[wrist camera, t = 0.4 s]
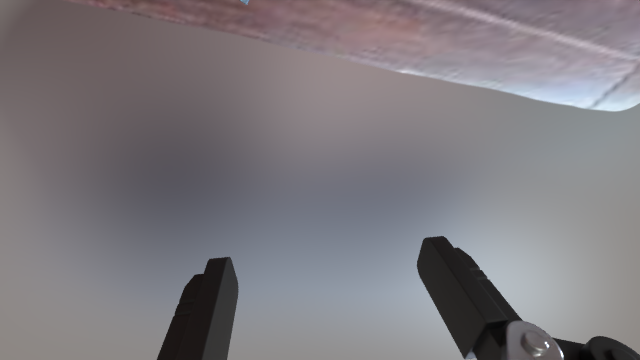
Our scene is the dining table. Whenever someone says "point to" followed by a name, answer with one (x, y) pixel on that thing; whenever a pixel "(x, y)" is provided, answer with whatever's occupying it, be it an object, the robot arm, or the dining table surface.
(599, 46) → the dining table surface
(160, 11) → the dining table surface
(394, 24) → the dining table surface
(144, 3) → the dining table surface
